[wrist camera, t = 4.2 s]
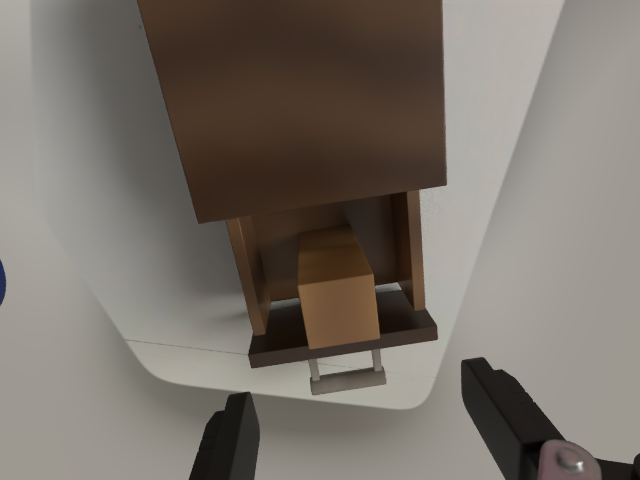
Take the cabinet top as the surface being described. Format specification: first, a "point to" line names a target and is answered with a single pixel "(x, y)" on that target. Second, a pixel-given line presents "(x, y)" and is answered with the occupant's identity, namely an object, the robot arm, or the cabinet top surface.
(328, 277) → the small box
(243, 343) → the cabinet top surface
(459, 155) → the cabinet top surface
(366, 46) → the cabinet
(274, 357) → the drawer
